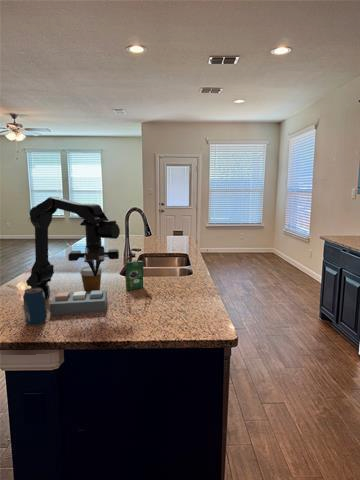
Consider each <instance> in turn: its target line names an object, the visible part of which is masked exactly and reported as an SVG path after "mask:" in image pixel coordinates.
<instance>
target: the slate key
mask: <svg viewBox="0 0 360 480" xmlns="http://www.w3.org/2000/svg"><path fill="white" fill-rule="evenodd" d="M103 291H104V290H103V289H100V290H98V291H91V294H90V299H91V298H103Z"/></svg>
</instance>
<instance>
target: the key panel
mask: <svg viewBox="0 0 360 480" xmlns="http://www.w3.org/2000/svg"><path fill="white" fill-rule="evenodd" d="M74 292H75V291H74ZM74 292H69V295H70V297H69V299H68V300H57V301H56V300H55V296H56V295H57V293H56V294H55V295H54V297H53V298H52V300H51V301H50V302H49V313H50V316H62V315H61V314H66V315H79V314H80V313H81V314H95V313H106V308H107V303H108V290H103V298H91V299H90V294H91V291H89V292H86V299H74V300H73V294H74ZM81 314H80V315H81Z"/></svg>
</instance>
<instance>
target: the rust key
mask: <svg viewBox="0 0 360 480" xmlns="http://www.w3.org/2000/svg"><path fill="white" fill-rule="evenodd" d="M69 293H70V292H69V291H67V292H62V291H61V292H56V294H57V295H56V294H55V295H56V296H55V295H54V297H55V300H56V301H57V300H68V299H69V297H70V295H69Z"/></svg>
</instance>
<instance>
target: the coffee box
mask: <svg viewBox="0 0 360 480" xmlns="http://www.w3.org/2000/svg"><path fill="white" fill-rule="evenodd" d="M144 286H145V285H144V261H143V260H135V261H125V288H126V289H125V290H127V291H132V290H137V289H144Z"/></svg>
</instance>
